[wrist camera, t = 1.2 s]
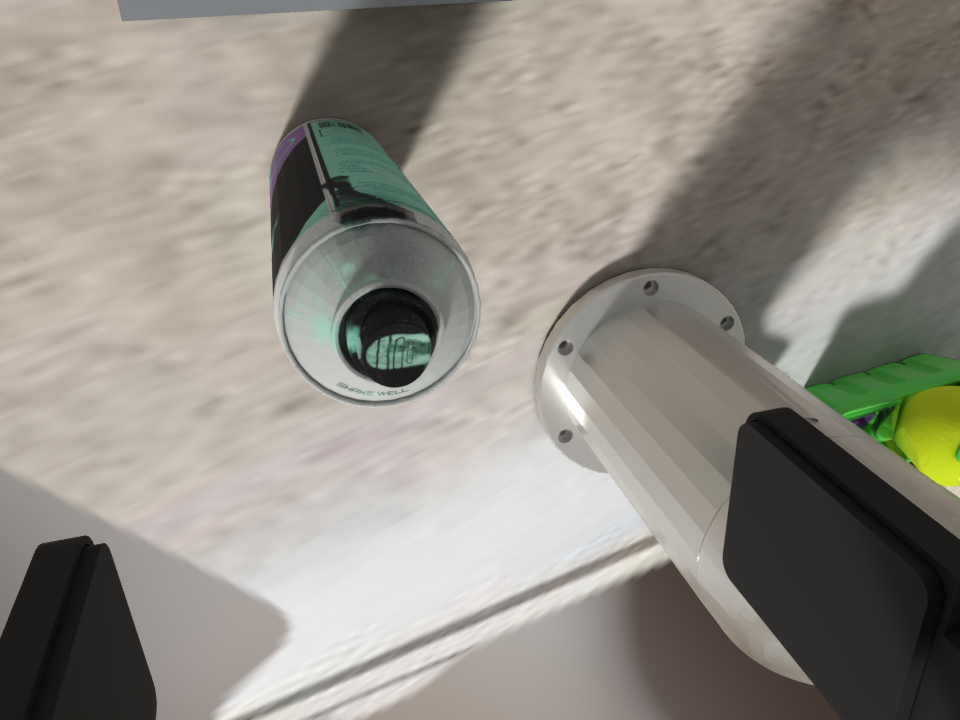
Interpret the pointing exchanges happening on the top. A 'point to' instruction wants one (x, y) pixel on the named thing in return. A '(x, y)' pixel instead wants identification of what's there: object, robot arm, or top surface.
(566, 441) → the robot arm
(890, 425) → the fruit basket
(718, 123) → the top surface
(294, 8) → the bin
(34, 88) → the top surface
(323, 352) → the spray can
